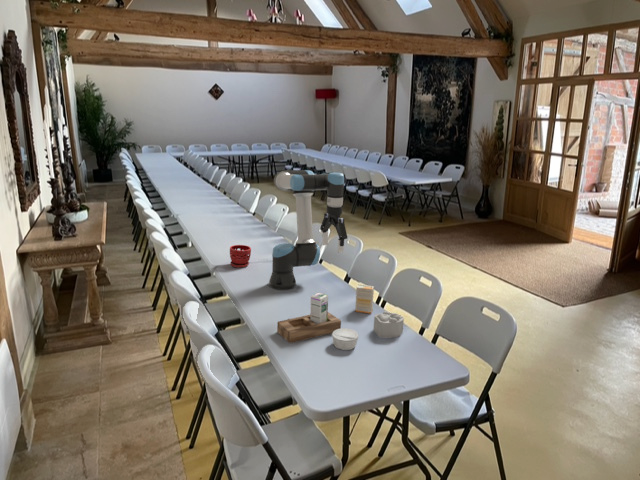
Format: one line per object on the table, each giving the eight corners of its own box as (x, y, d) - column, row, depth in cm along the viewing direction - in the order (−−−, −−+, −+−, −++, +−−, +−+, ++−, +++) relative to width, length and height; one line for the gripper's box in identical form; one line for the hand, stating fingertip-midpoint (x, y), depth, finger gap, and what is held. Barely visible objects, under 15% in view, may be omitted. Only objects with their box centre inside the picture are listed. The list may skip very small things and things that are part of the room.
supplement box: (372, 310, 238) (374, 286, 235) (371, 314, 234) (372, 289, 230) (356, 308, 240) (358, 283, 237) (354, 311, 236) (356, 287, 233)
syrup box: (320, 329, 211) (321, 298, 207) (309, 325, 214) (310, 295, 211) (327, 324, 216) (328, 295, 212) (316, 321, 219) (318, 291, 215)
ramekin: (336, 353, 195) (336, 341, 194) (328, 340, 205) (328, 329, 204) (361, 350, 198) (362, 338, 197) (352, 338, 209) (353, 327, 207)
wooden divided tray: (277, 332, 211) (277, 321, 210) (326, 320, 224) (326, 310, 223) (290, 343, 201) (290, 332, 200) (340, 330, 215) (341, 320, 213)
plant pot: (236, 270, 289) (236, 251, 286) (226, 264, 298) (225, 246, 295) (254, 266, 297) (254, 248, 294) (244, 261, 307) (244, 243, 303)
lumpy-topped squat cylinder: (371, 328, 219) (372, 311, 216) (397, 326, 222) (398, 308, 220) (380, 338, 209) (381, 320, 207) (406, 335, 213) (408, 318, 210)
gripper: (314, 201, 232) (312, 242, 238) (343, 211, 212) (340, 256, 218) (327, 200, 236) (325, 241, 242) (356, 210, 216) (353, 254, 221)
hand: (332, 248), depth 230 cm, fingers open, 13 cm apart
